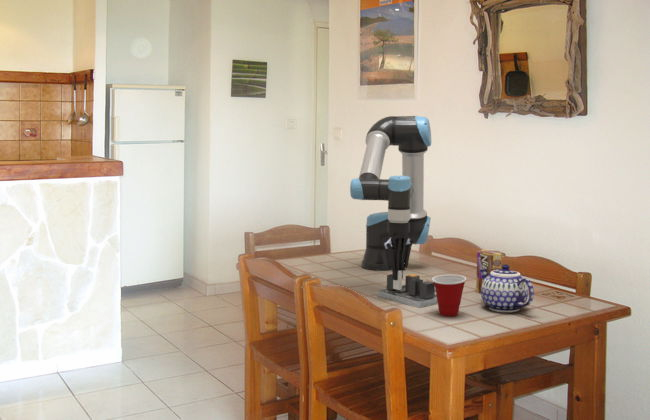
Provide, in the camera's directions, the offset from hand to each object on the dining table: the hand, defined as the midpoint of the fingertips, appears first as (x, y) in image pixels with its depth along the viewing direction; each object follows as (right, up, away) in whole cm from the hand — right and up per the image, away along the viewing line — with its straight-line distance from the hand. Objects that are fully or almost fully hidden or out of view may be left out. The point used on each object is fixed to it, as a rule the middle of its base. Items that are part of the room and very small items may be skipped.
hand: (397, 288), depth 240 cm
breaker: (+6, -1, +5) cm, 8 cm away
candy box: (+34, -3, +10) cm, 35 cm away
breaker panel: (+7, -3, +3) cm, 9 cm away
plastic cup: (+14, -6, -18) cm, 24 cm away
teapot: (+34, -5, -11) cm, 36 cm away
